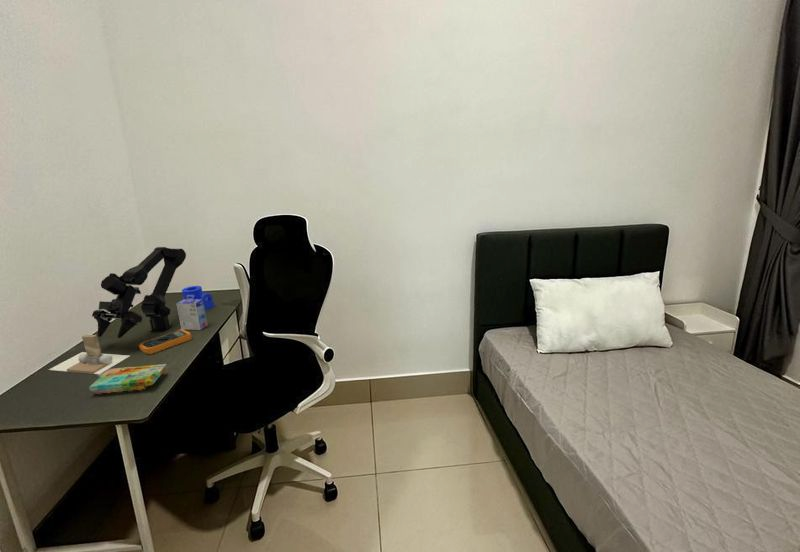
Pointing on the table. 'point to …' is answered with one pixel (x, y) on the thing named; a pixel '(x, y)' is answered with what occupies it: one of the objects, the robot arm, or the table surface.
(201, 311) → the ink cartridge box
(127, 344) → the table surface
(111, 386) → the puzzle game
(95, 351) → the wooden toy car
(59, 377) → the table surface
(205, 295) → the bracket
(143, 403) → the table surface
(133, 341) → the table surface
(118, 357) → the board
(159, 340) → the multimeter
